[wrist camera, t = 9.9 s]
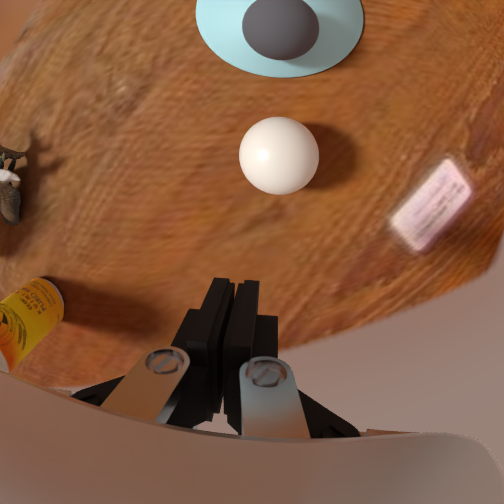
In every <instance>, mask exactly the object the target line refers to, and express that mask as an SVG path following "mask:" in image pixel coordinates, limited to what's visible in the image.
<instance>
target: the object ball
mask: <svg viewBox="0 0 504 504" xmlns="http://www.w3.org/2000/svg"><path fill="white" fill-rule="evenodd" d="M242 31H243V35H244V38H245V40H246V42H247V43H248V44H249V46H250V47H251V48H252V49H253V50H254V51H256V52H257V53H258V54H260V55H262V56H264V57H266V58H269V59H273V60H291V59H295V58H298V57H300V56H302V55H304V54H305V53H307V52H308V51H309V50H310V49H311V48H312V47H313V46H314V44H315V43H316V41H317V39H318V35H319V21H318V18H317V16H316V14H315V12H314V11H313V9H312V8H311V7H310V6H309V5H308V4H307V3H306V2H304V1H303V0H256V1H255V2H254V3H252V4H251V5H250V6H249V8H248V9H247V11H246V12H245V14H244V17H243V21H242Z"/></svg>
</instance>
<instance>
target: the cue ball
mask: <svg viewBox="0 0 504 504" xmlns="http://www.w3.org/2000/svg"><path fill="white" fill-rule="evenodd" d="M239 160H240V165H241V168H242V170H243V173H244V175H245V176H246V178H247V179H248V180H249V181H250V182H251V183H252V184H253V185H254V186H255V187H257V188H258V189H260V190H262V191H264V192H267V193H270V194H276V195H282V194H289V193H293V192H295V191H297V190H299V189H301V188H303V187H304V186H305V185H306V184H308V182H309V181H310V180H311V179H312V178H313V176H314V174H315V172H316V170H317V167H318V163H319V150H318V146H317V143H316V140H315V138H314V136H313V135H312V133H311V132H310V131H309V130H308V129H307V128H306V127H305V126H304V125H303V124H301V123H299V122H298V121H296V120H293V119H290V118H286V117H271V118H267V119H264V120H262V121H260V122H258V123H256V124H255V125H253V126H252V127H251V128H250V129H249V130H248V132H247V133H246V134H245V136H244V138H243V140H242V142H241V145H240V151H239Z"/></svg>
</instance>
